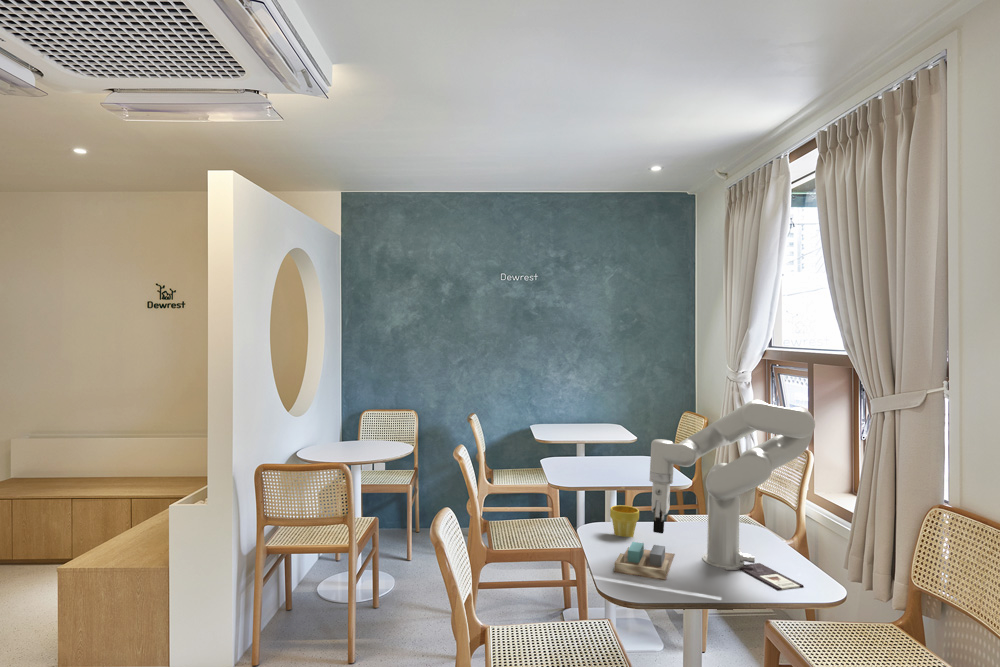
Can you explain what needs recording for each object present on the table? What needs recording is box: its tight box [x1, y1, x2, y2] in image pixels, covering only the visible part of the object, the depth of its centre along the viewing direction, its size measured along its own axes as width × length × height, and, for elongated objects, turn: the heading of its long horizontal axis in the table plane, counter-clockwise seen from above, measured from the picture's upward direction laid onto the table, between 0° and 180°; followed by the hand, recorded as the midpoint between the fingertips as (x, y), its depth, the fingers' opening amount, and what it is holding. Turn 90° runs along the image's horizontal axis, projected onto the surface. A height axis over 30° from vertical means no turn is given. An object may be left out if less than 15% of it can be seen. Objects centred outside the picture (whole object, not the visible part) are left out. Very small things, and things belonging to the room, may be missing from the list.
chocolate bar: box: [739, 562, 804, 591], centre depth 180 cm, size 9×1×18 cm
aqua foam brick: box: [627, 541, 645, 563], centre depth 192 cm, size 4×9×4 cm, turn 158°
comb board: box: [613, 546, 676, 581], centre depth 188 cm, size 15×24×3 cm, turn 158°
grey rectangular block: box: [650, 544, 666, 567], centre depth 189 cm, size 4×9×4 cm, turn 158°
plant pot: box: [609, 504, 640, 539], centre depth 216 cm, size 10×10×10 cm
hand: (658, 532), depth 198 cm, fingers closed
